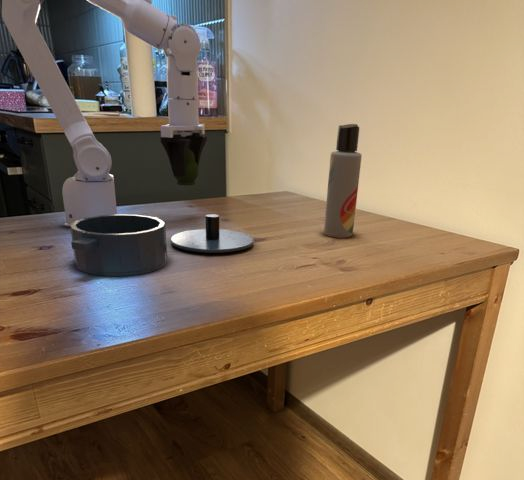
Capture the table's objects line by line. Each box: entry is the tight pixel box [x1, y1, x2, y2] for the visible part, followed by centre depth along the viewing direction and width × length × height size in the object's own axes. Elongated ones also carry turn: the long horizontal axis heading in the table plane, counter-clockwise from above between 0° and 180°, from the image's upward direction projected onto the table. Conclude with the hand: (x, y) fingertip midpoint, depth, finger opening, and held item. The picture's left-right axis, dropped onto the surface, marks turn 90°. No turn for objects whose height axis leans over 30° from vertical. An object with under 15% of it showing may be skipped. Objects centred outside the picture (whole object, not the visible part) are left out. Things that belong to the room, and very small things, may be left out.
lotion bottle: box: [323, 123, 363, 239], centre depth 94 cm, size 6×6×20 cm
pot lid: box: [170, 213, 255, 254], centre depth 88 cm, size 15×15×5 cm
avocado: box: [173, 149, 199, 186], centre depth 100 cm, size 5×5×7 cm
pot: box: [69, 213, 168, 277], centre depth 76 cm, size 14×19×6 cm
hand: (185, 174), depth 100 cm, fingers closed on avocado, 5 cm apart
